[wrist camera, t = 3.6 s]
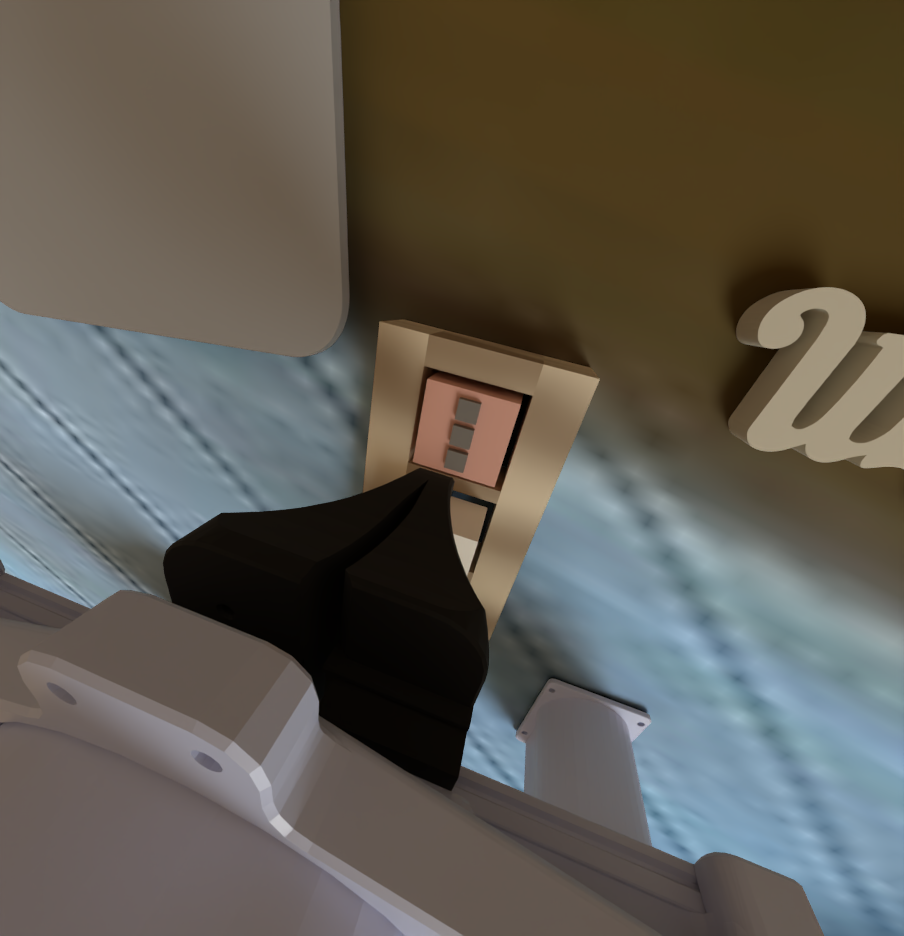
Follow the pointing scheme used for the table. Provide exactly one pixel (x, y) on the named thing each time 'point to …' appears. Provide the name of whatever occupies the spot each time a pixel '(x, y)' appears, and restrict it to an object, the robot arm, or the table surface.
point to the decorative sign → (823, 380)
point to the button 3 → (466, 426)
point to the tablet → (176, 168)
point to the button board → (534, 453)
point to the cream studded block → (466, 528)
